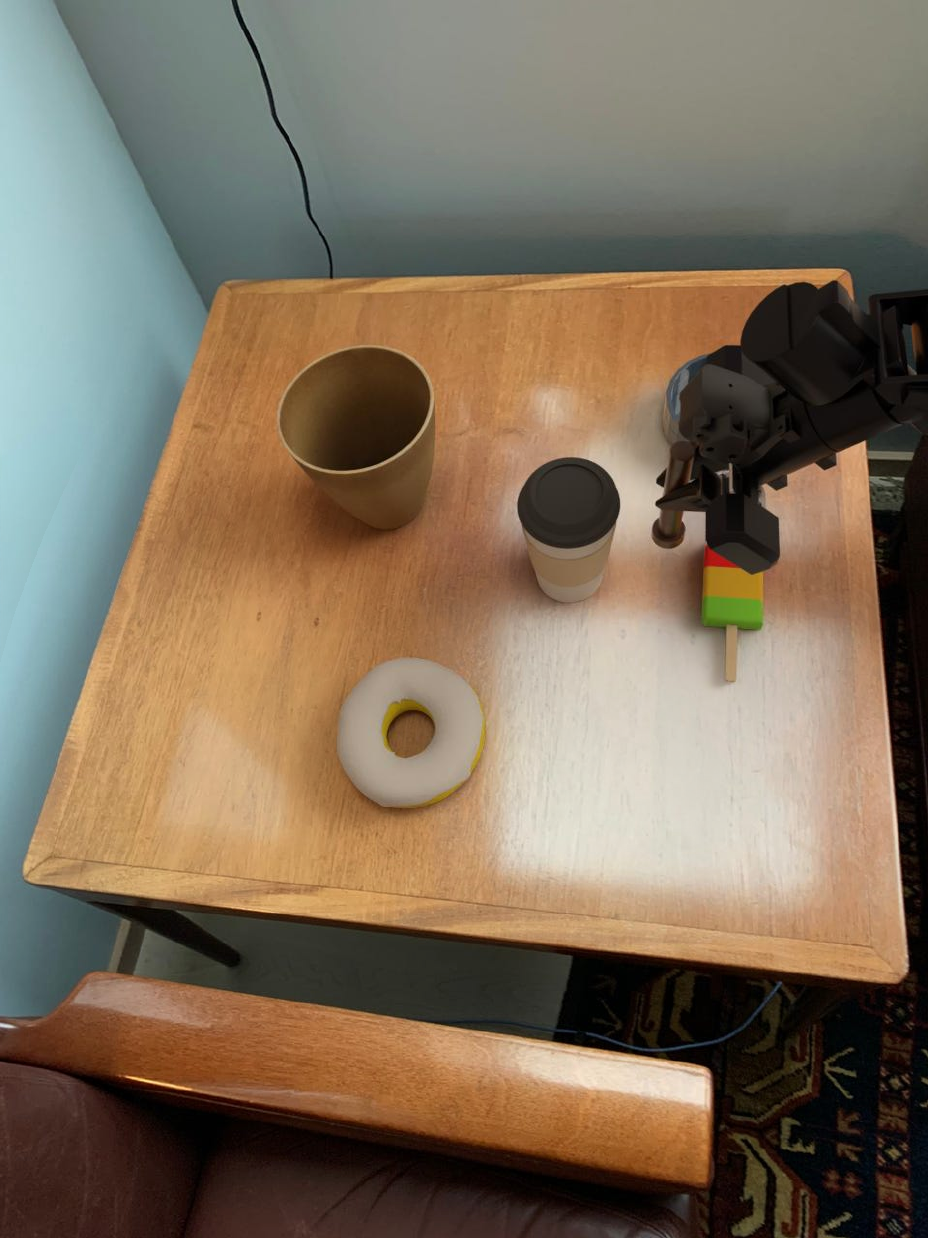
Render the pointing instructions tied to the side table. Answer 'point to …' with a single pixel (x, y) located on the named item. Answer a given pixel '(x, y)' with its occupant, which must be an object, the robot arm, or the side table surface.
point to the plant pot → (363, 431)
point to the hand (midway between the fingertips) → (658, 494)
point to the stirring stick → (679, 468)
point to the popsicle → (730, 602)
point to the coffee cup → (569, 525)
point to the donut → (386, 698)
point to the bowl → (672, 398)
